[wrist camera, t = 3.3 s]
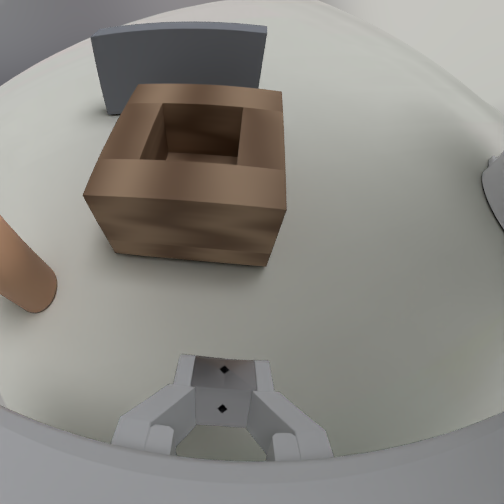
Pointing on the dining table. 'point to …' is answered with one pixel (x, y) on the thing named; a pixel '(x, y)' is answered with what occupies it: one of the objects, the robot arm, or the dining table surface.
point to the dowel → (24, 273)
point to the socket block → (193, 174)
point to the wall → (176, 56)
